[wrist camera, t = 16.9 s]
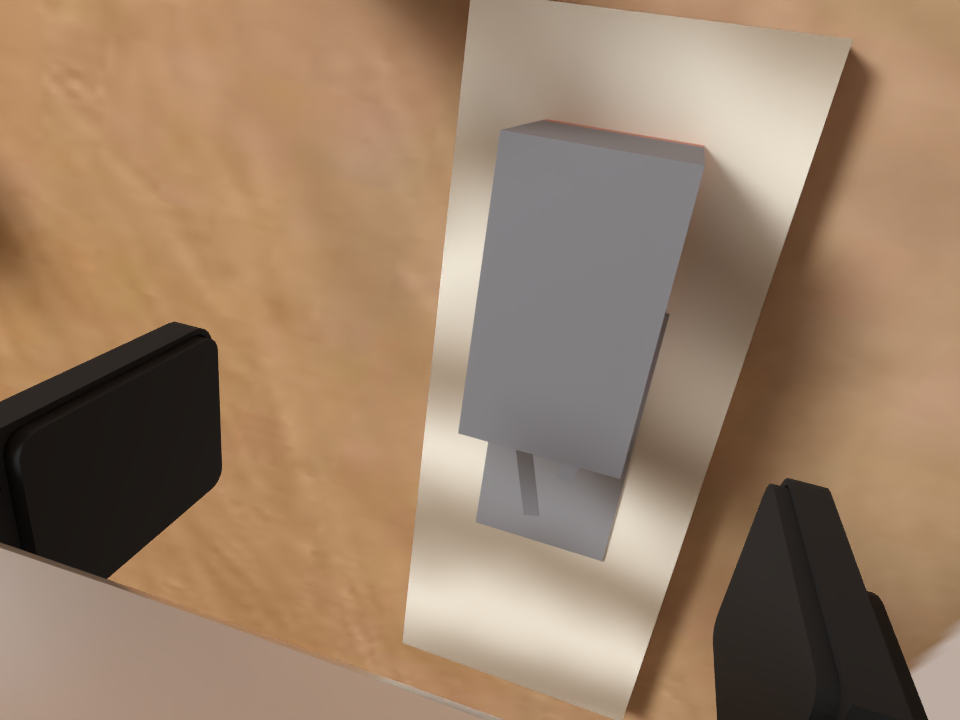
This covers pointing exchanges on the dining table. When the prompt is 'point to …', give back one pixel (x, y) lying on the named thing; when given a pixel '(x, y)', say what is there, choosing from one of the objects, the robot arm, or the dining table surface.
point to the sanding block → (575, 288)
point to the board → (678, 355)
